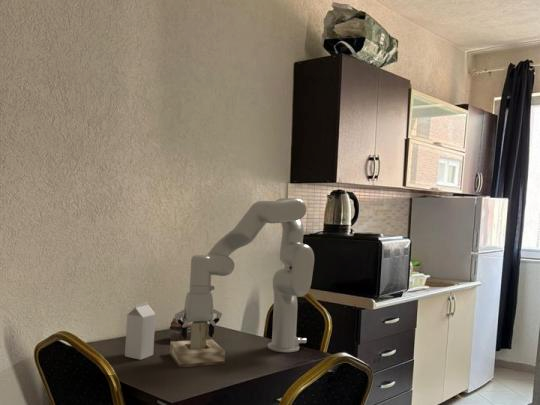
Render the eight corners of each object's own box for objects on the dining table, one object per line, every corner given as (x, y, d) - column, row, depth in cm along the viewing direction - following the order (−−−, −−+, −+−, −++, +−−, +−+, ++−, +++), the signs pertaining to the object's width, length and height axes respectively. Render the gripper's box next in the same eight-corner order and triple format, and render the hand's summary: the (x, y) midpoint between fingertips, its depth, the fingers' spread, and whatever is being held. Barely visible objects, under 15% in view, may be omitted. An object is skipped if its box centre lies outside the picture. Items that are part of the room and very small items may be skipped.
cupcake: (163, 340, 197) (164, 316, 197) (179, 336, 205) (181, 312, 205) (181, 345, 192) (182, 319, 192) (197, 340, 200) (198, 315, 200)
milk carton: (153, 355, 176) (156, 303, 177) (140, 360, 170) (143, 305, 170) (137, 352, 179) (140, 300, 180) (124, 356, 173) (127, 303, 173)
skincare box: (200, 359, 171) (202, 324, 172) (189, 357, 172) (190, 323, 172) (206, 354, 178) (208, 320, 178) (195, 352, 179) (196, 319, 179)
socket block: (211, 351, 185) (212, 339, 185) (224, 363, 171) (225, 350, 171) (169, 354, 179) (170, 341, 179) (179, 367, 164) (180, 354, 164)
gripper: (219, 287, 182) (217, 333, 182) (174, 288, 175) (171, 335, 175) (226, 290, 175) (223, 338, 175) (178, 291, 168) (176, 341, 168)
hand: (197, 337), depth 175 cm, fingers open, 9 cm apart
